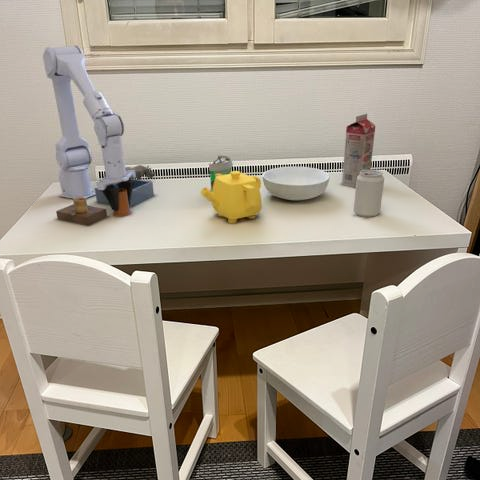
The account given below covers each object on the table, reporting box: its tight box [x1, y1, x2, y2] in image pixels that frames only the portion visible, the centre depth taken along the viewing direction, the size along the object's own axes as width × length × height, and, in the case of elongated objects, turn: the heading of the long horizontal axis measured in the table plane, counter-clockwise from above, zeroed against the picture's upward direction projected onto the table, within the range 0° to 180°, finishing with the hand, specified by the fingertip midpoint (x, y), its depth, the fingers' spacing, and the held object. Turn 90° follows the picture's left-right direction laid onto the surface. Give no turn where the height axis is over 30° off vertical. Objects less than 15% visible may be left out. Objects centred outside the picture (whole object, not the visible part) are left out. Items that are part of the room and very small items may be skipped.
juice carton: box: [341, 113, 376, 188], centre depth 166 cm, size 7×7×22 cm
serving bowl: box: [262, 165, 331, 202], centre depth 159 cm, size 21×21×7 cm
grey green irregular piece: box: [208, 154, 234, 192], centre depth 166 cm, size 12×6×10 cm, turn 168°
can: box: [353, 169, 385, 218], centre depth 143 cm, size 8×8×12 cm
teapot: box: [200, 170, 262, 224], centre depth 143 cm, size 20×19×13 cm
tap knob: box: [72, 197, 88, 213], centre depth 145 cm, size 4×4×4 cm
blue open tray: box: [94, 178, 155, 208], centre depth 161 cm, size 12×13×5 cm
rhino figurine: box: [125, 164, 157, 180], centre depth 177 cm, size 4×14×6 cm, turn 119°
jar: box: [112, 188, 131, 217], centre depth 149 cm, size 5×5×7 cm
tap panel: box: [55, 203, 108, 226], centre depth 147 cm, size 12×9×3 cm
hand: (120, 207), depth 150 cm, fingers closed on jar, 4 cm apart
